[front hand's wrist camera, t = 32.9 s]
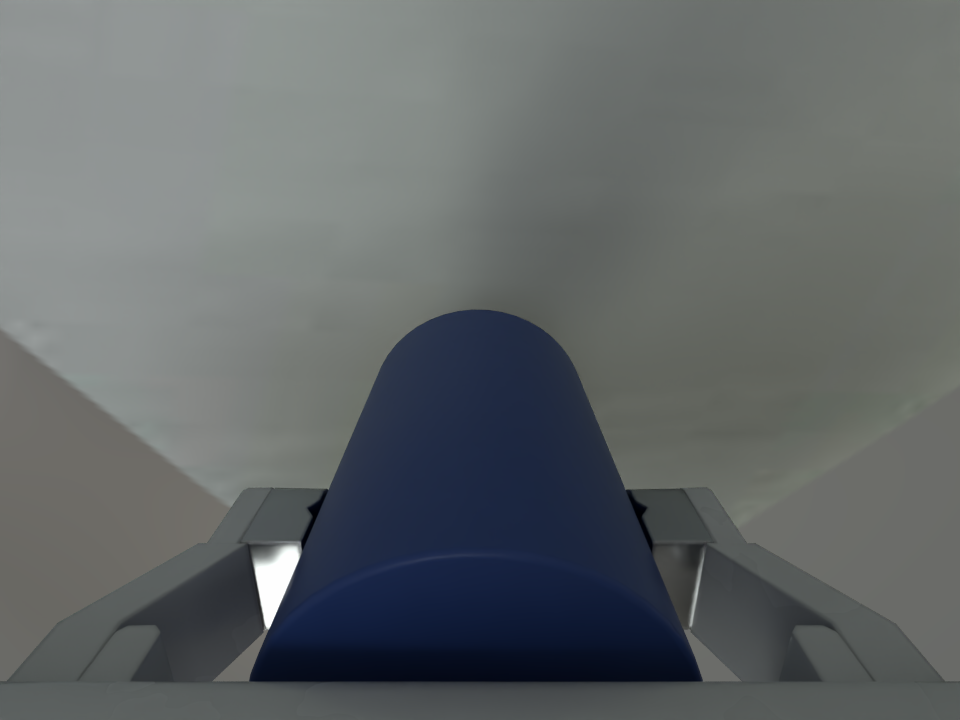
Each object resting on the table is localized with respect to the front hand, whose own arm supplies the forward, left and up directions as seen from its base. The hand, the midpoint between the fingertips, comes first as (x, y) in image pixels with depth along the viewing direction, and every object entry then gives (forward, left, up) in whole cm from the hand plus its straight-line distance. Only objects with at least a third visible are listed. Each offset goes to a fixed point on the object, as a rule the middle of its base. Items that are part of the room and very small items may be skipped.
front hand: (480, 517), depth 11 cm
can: (0, 0, -5) cm, 5 cm away
